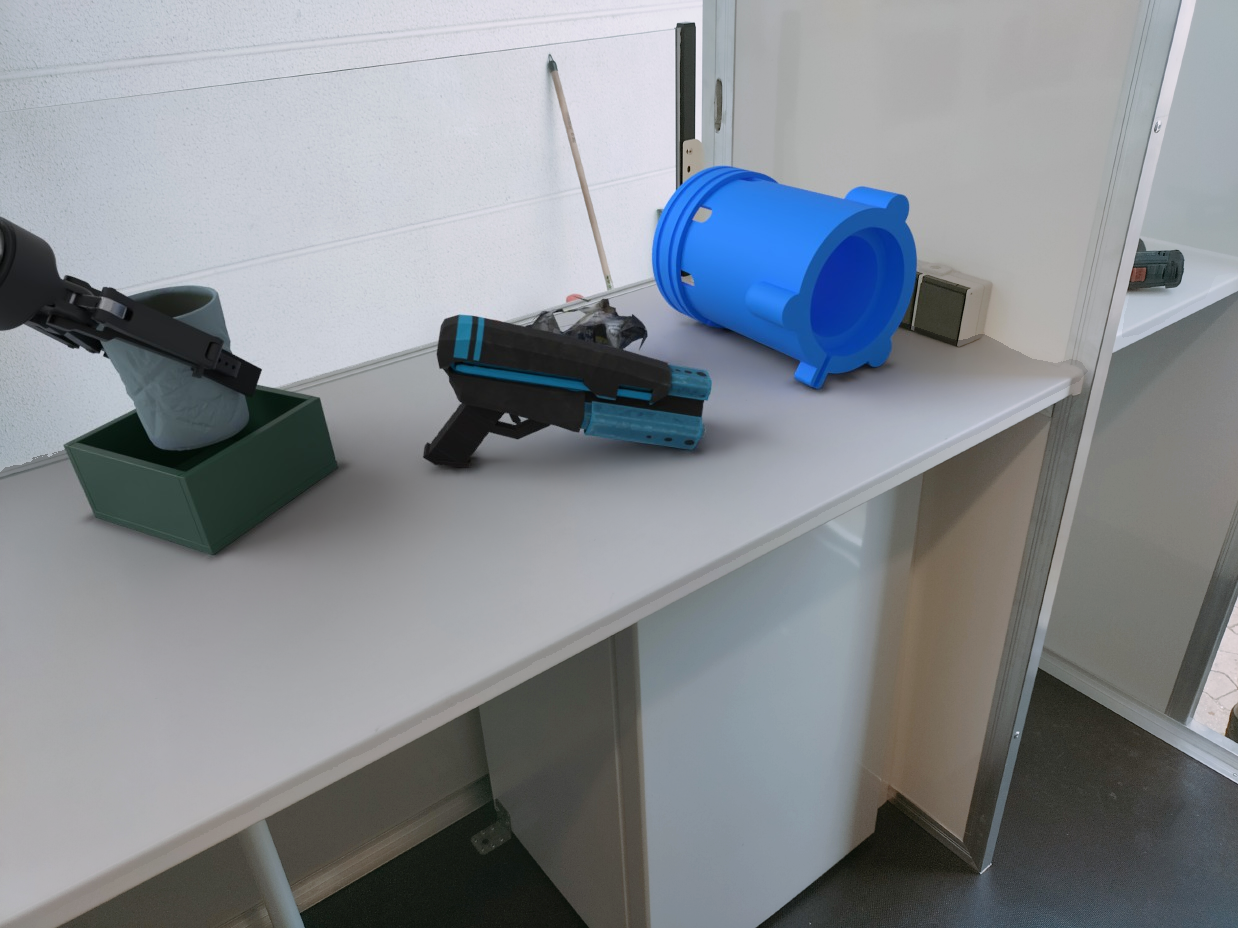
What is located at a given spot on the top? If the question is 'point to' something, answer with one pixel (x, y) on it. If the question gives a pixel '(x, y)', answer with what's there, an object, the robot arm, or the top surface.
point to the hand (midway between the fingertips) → (211, 375)
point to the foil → (597, 325)
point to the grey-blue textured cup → (179, 376)
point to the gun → (559, 389)
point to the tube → (789, 266)
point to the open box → (206, 472)
